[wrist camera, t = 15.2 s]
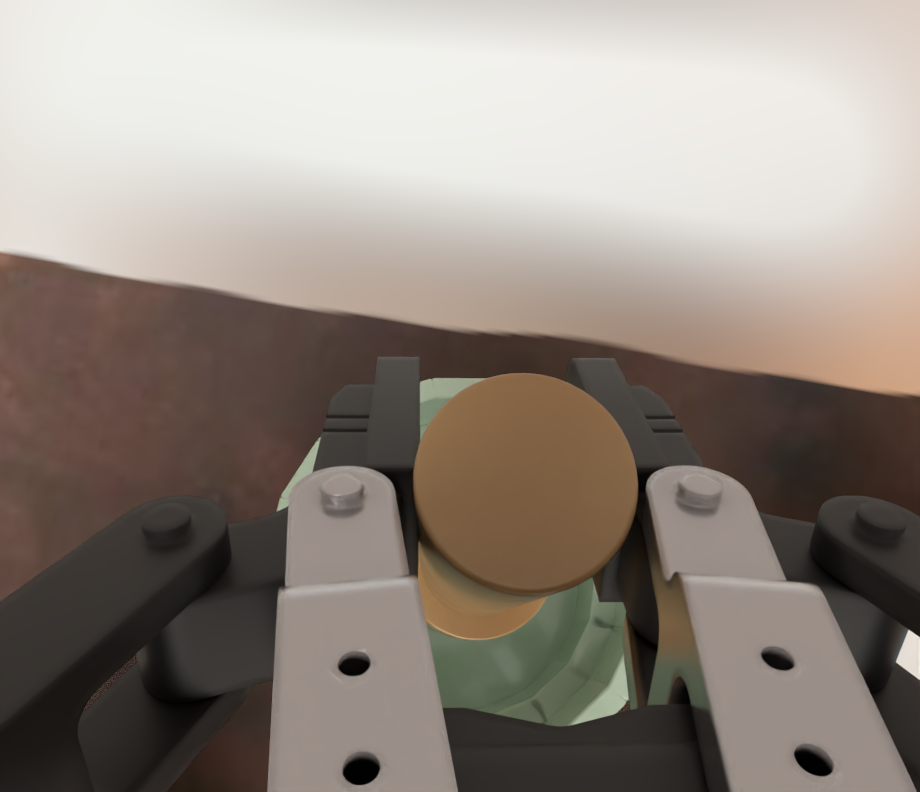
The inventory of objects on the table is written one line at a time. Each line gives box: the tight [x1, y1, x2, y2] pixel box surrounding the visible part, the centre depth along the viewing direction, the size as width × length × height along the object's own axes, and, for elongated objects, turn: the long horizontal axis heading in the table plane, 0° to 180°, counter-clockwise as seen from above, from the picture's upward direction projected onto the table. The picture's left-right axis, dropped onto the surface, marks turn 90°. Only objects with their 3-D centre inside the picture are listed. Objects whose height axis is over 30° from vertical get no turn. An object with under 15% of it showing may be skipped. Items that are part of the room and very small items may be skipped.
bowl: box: [276, 378, 629, 726], centre depth 22 cm, size 10×10×6 cm
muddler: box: [413, 373, 638, 640], centre depth 14 cm, size 4×4×12 cm
